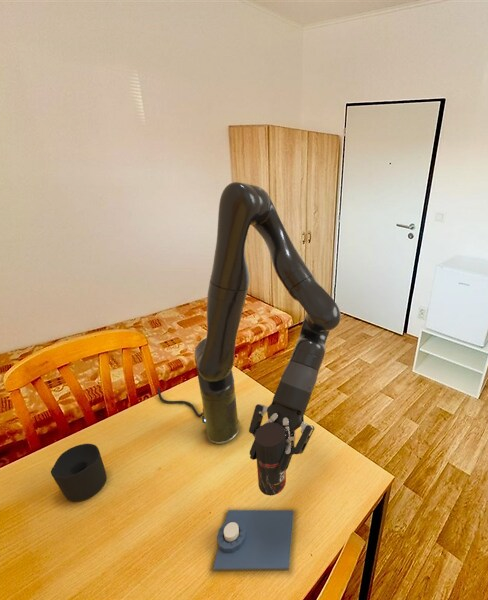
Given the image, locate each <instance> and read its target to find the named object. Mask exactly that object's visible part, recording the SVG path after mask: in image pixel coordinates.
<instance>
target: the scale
mask: <svg viewBox="0 0 488 600" xmlns="http://www.w3.org/2000/svg"><path fill="white" fill-rule="evenodd" d="M231 522H235V523H237V524H238V527H239V535H238V537H237V539H236V540H234V541H232V542H228V541H226V540H225V538H224V528H225V526H226V525H227V524H229V523H231ZM293 523H294V510H292V509H288V510H287V509H286V510H285V509H284V510H283V509H281V510H279V509H278V510H277V509H275V510H273V509H247V510H246V509H228V510H227V513H226V517H225V521H224V523H223V524H222V525H221V526H220V528H219V529H218V530H217V531H218V532H217V536H216V540H217V545H218V548H217V551H216V556H215V559H214V563H213V568H212V572H228V571H229V572H233V571H235V572H236V571H237V572H239V571H241V572H242V571H243V572H244V571H289V570H290V563H291V562H290V561H291V552H292V551H291V550H292V547H291V546H292V538H293Z"/></svg>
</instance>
